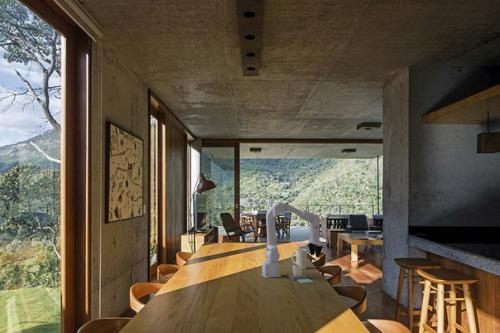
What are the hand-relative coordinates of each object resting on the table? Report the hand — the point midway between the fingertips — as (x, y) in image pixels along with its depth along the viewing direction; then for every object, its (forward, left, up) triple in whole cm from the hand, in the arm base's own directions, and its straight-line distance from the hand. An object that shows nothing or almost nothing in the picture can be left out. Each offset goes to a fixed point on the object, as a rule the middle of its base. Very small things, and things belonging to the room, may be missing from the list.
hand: (315, 256), depth 241 cm
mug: (-4, +16, -10) cm, 19 cm away
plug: (-16, -9, -10) cm, 21 cm away
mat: (-15, -19, -10) cm, 26 cm away
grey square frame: (-16, -9, -10) cm, 21 cm away
